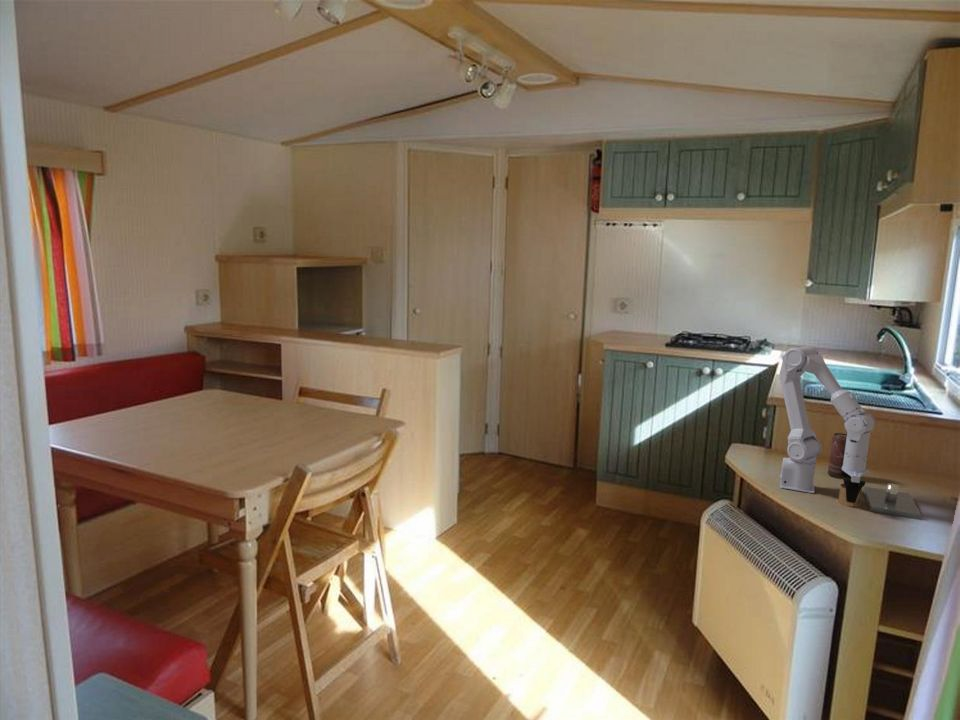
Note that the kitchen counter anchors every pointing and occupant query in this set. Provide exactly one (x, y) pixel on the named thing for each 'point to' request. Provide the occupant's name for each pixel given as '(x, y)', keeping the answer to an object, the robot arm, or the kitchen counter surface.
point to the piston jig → (891, 502)
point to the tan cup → (843, 497)
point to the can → (837, 455)
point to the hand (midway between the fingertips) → (849, 498)
